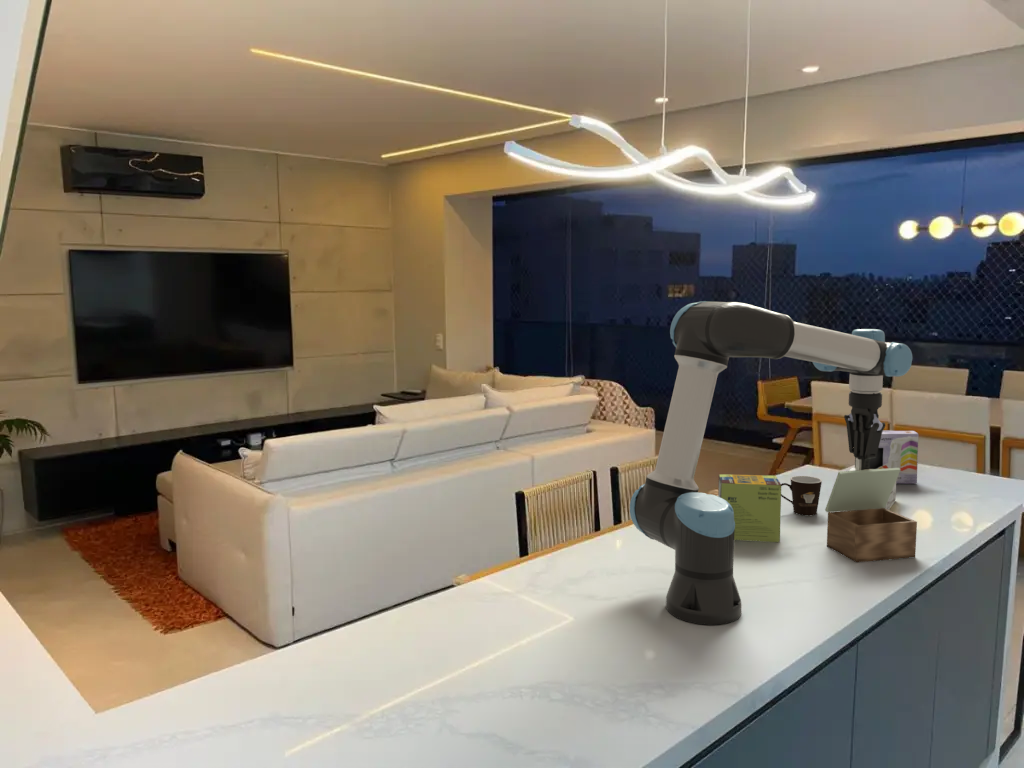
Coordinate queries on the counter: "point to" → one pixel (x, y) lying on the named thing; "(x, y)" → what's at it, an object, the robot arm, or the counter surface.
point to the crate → (871, 534)
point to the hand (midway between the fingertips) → (861, 482)
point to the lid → (862, 489)
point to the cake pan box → (898, 454)
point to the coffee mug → (804, 494)
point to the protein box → (753, 505)
